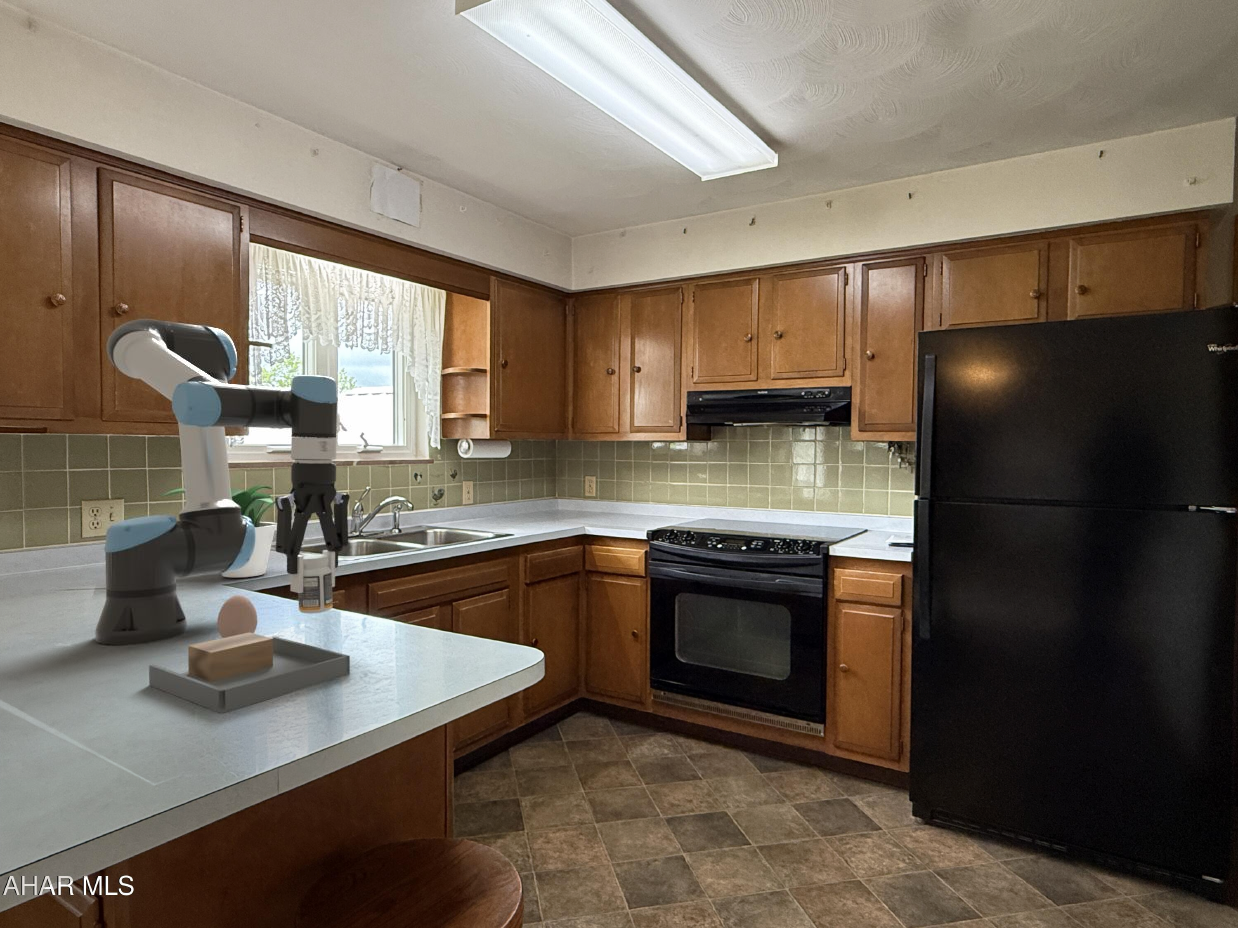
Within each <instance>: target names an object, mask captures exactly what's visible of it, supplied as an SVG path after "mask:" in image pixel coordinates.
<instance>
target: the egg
mask: <svg viewBox="0 0 1238 928" xmlns="http://www.w3.org/2000/svg"><path fill="white" fill-rule="evenodd" d="M216 621H217V622H216V623H217V630H218V633H219V635H220V636H221V638H226V637H231V636H235V635H240V634H245V633H249V632H250V633H254V634H255V632H256V630H257V626H258V614H257V610H256V608H255V606H254V604H253V603H252V601H251V600H250V599H249V598H248V597H247V596H244V595H241V594H237V595H233V596H231V597H229V598H228V599H226V601H225V602H224V603H223V604H222V605H221V607H220V611H219V612H218V616H217V620H216Z"/></svg>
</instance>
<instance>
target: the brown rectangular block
mask: <svg viewBox="0 0 1238 928" xmlns="http://www.w3.org/2000/svg"><path fill="white" fill-rule="evenodd" d="M187 647H188V652H187V653H188V654H187V655H188V657H187V658H188V659H187V660H188V663H187V664H188V672H189V674H191V675H194V676H197V677H200V678H202V679H205V680H208V681H211V682H212V681H216V680H220V679H224V678H227V677H231V676H235V675H239V674H243V673H247V672H250V671H254V670H258V669H262V668H266V667H270V666H273V637H267V636H264V635H261V634H257V633H255V632H254V633H250V632H249V633H245V634H240V635H235V636H231V637H226V638H222V637H221V638H218V639H213V640H208V641H204V642H200V643H199V642H198V643H194V644H190V645H188V646H187Z"/></svg>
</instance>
